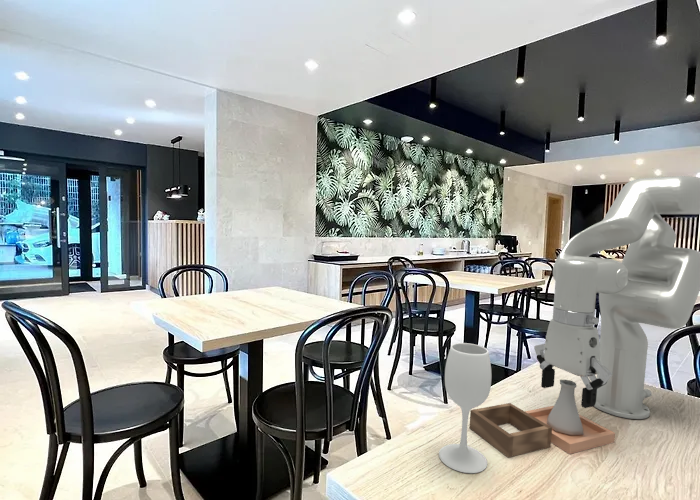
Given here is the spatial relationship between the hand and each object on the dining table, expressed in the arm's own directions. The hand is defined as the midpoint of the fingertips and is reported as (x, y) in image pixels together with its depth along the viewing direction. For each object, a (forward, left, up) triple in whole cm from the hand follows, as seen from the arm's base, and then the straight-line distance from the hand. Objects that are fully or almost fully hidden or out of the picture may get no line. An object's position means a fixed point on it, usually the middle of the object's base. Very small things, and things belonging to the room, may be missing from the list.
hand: (566, 396), depth 82 cm
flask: (0, 0, -7) cm, 7 cm away
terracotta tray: (0, 0, -8) cm, 8 cm away
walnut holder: (+13, -2, -8) cm, 16 cm away
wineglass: (+27, +1, -8) cm, 29 cm away
